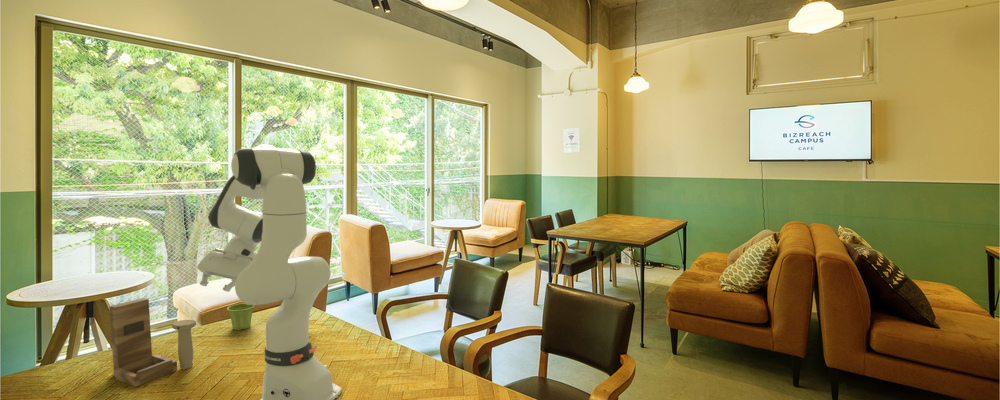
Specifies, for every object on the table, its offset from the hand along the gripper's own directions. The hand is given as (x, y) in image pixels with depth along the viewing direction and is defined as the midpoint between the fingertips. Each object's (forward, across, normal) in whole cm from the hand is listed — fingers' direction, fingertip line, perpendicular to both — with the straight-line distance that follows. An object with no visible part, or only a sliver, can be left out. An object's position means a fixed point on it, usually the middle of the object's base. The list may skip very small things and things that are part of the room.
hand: (213, 288), depth 147 cm
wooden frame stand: (+29, -8, +4) cm, 31 cm away
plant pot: (+4, -8, +34) cm, 35 cm away
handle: (+24, +1, +8) cm, 26 cm away
